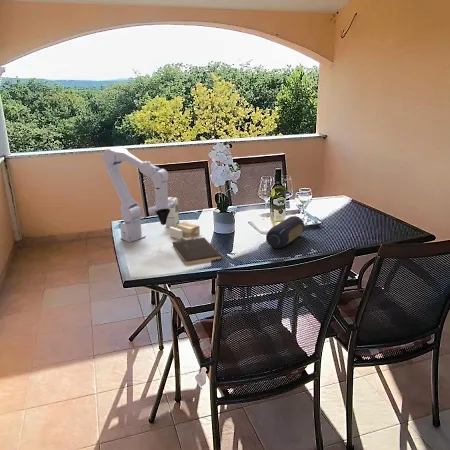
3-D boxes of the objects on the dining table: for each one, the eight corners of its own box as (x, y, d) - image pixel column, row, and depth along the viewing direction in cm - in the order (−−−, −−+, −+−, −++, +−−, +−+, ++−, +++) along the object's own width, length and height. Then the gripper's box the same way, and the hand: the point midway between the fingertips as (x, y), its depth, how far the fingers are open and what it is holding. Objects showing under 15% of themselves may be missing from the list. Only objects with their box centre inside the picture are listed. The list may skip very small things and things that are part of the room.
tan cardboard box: (177, 244, 200) (177, 235, 199) (162, 238, 208) (161, 229, 206) (201, 235, 211) (201, 226, 209) (186, 229, 218) (185, 221, 217)
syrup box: (176, 227, 222) (174, 200, 218) (165, 226, 224) (163, 199, 219) (179, 223, 228) (178, 197, 223) (168, 223, 229) (167, 196, 224)
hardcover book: (185, 266, 178) (185, 261, 178) (172, 246, 199) (172, 242, 198) (221, 260, 184) (221, 255, 183) (205, 241, 204) (204, 237, 203)
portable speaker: (283, 252, 189) (284, 231, 186) (263, 248, 194) (264, 227, 191) (306, 235, 208) (307, 215, 205) (288, 231, 214) (288, 212, 210)
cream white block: (183, 241, 203) (183, 232, 201) (169, 235, 210) (169, 227, 208) (189, 239, 205) (189, 230, 204) (175, 233, 212) (174, 225, 211)
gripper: (154, 201, 188) (156, 230, 192) (179, 194, 198) (180, 222, 202) (144, 198, 193) (146, 226, 197) (169, 191, 202) (171, 219, 207)
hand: (163, 224), depth 200 cm, fingers closed
